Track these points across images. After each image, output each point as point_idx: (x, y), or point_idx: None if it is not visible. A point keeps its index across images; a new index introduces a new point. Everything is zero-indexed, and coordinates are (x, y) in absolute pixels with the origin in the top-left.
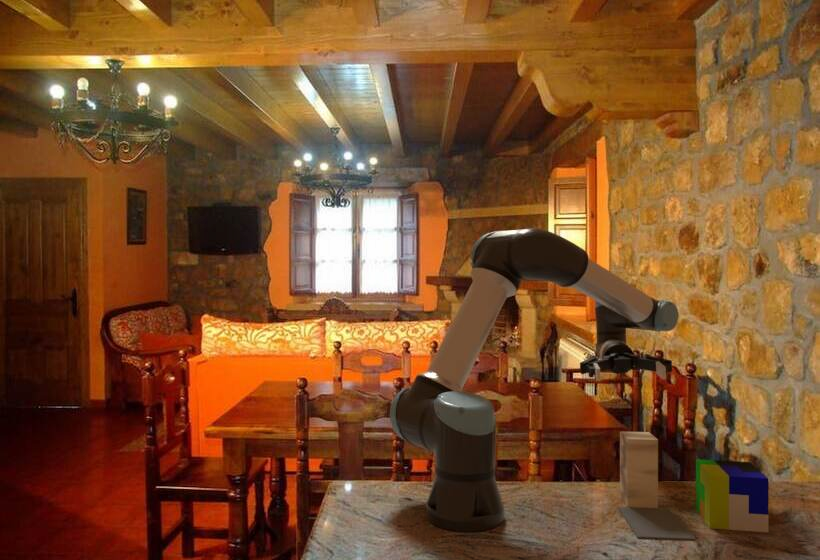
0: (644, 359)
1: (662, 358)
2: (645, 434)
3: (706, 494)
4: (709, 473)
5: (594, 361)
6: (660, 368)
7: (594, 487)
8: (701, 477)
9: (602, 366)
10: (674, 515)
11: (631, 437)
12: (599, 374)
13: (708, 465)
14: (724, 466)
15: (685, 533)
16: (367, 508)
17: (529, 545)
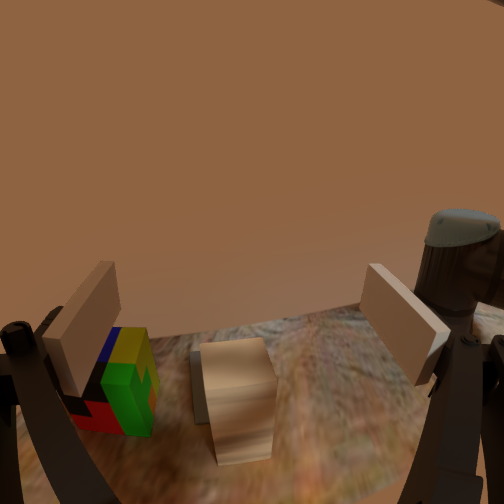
0: (74, 438)
1: (14, 325)
2: (218, 371)
3: (149, 364)
4: (143, 332)
5: (481, 381)
6: (106, 285)
7: (320, 489)
8: (141, 372)
9: (430, 428)
10: (194, 402)
11: (252, 347)
12: (366, 284)
13: (125, 359)
14: (102, 358)
15: (196, 359)
16: (499, 323)
17: (350, 314)
